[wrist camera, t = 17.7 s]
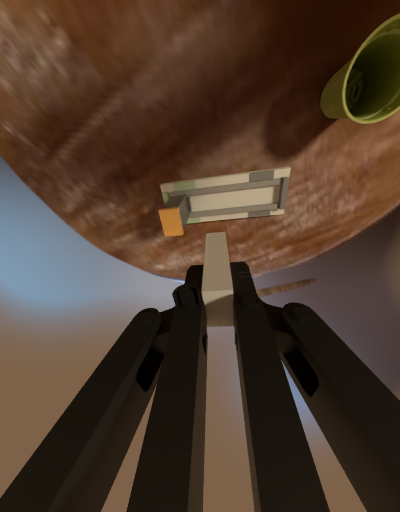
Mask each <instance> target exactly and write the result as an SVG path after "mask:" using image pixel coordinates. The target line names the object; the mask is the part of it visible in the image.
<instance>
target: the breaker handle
mask: <svg viewBox="0 0 400 512" xmlns="http://www.w3.org/2000/svg"><path fill="white" fill-rule="evenodd" d="M191 211H192V207H191V201H190V197H187V196H186V195H179V196H172V197H171V198H170V199H169V200H168V201H167V202H166V204H165V205H164V206H163V207H162V208H161V209H159V215H160V219H161V223H162V226H163V230H164V234H165V237H166V236H177V235H183V233H184V229H185V226H186V224H187V221H188V218H189V216H190V215H189V212H191Z"/></svg>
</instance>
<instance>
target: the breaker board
mask: <svg viewBox="0 0 400 512" xmlns="http://www.w3.org/2000/svg"><path fill="white" fill-rule="evenodd" d="M289 175H290V167H282V168H274V169H266V170H259V171H251V172H244V173H236V174H229V175H221V176H214V177H206V178H199V179H191V180H184V181H176V182H169V183H162V184H160V188H161V192H162V196H163V200H164V205H165V204H166V202H167V201H168V200H169V199H170V198H171V197H172V196H179V195H186V196H187V197H190V201H191V207H192V211H191V212H189V215H190V216H189V218H188V221H187V224H188V223H199V222H206V221H216V220H226V219H236V218H246V217H260V216H270V215H277V214H284V210H285V206H286V199H287V192H288V185H289Z"/></svg>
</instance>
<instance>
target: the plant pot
mask: <svg viewBox="0 0 400 512" xmlns="http://www.w3.org/2000/svg"><path fill="white" fill-rule="evenodd" d="M349 73H350V74H349ZM357 86H358V92H357V95H356V96H355V97H354V94H355V91H356V87H357ZM320 108H321V110H322V112H323V114H324V115H325V116H326V117H328V118H332V119H333V118H335V119H336V118H345V119H350V120H351V121H353V122H355V123H359V124H370V123H375V122H378V121H381V120H383V119H385V118H387V117H389V116H391V115H392V114H393V113H395V112H396V111H398V110H399V109H400V13H399V14H397V15H395V16H393V17H391V18H390V19H388V20H387V21H385V22H384V23H383V24H381V25H380V26H379V27H378V28H377V29H375V30H374V31H373V32H372V33H371V34H370V35H369V36H368V37H367V39H366V40H365V41H364V42H363V43H362V45H361V46H360V47H359V49H358V50H357V52H356V53H355V55H354V56H353V58H352V59H350V60H349V61H348V62H347V63H346V64H345V65H344V66H343V67H342V68H341V69H340V70H339V71H337V72H336V73H335V74H334V75H333V76H332V77H331V79H330V80H329V81H328V82H327V84H326V85H325V87H324V89H323V92H322V95H321V99H320Z"/></svg>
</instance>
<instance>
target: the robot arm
mask: <svg viewBox="0 0 400 512" xmlns="http://www.w3.org/2000/svg"><path fill="white" fill-rule="evenodd" d="M172 295H173V298H174V302H175V305H176V306H175V307H173V308H171V309H169V310H166V311H163V312H159V311H158V310H157V309H155V308H147V309H144V310H142V311H141V312H139V313H138V314H137V315H136V316H135V317H134V318H133V319H132V321H131V322H130V324H129V325H128V326H127V328H126V329H125V330H124V332H123V333H122V334H121V336H120V337H119V338H118V340H117V341H116V342H115V344H114V345H113V346H112V348H111V349H110V351H109V352H108V353H107V355H106V356H105V357H104V359H103V360H102V361H101V363H100V364H99V365H98V367H97V368H96V369H95V371H94V372H93V374H92V375H91V376H90V378H89V379H88V381H87V382H86V383H85V385H84V386H83V387H82V388H81V390H80V391H79V393H78V394H77V395H76V397H75V398H74V399H73V401H72V402H71V403H70V405H69V406H68V407H67V409H66V410H65V412H64V413H63V414H62V416H61V417H60V418H59V420H58V421H57V422H56V424H55V425H54V426H53V428H52V429H51V430H50V432H49V433H48V435H47V436H46V437H45V439H44V440H43V441H42V443H41V444H40V446H39V447H38V448H37V449H36V451H35V452H34V453H33V455H32V456H31V458H30V459H29V460H28V462H27V463H26V464H25V466H24V467H23V469H22V470H21V471H20V472H19V474H18V475H17V476H16V478H15V479H14V480H13V482H12V483H11V485H10V486H9V487H8V489H7V490H6V491H5V493H4V494H3V495H2V497H1V498H0V512H101V510H102V508H103V506H104V503H105V501H106V499H107V496H108V494H109V492H110V489H111V487H112V485H113V482H114V480H115V478H116V476H117V474H118V471H119V469H120V467H121V464H122V462H123V460H124V458H125V455H126V453H127V451H128V449H129V446H130V444H131V442H132V439H133V437H134V435H135V432H136V430H137V428H138V426H139V424H140V421H141V419H142V417H143V414H144V412H145V410H146V408H147V405H148V403H149V401H150V398H151V396H152V394H153V392H154V389H155V387H156V385H157V387H156V390H155V395H154V399H153V403H152V407H151V411H150V416H149V420H148V424H147V428H146V432H145V436H144V441H143V445H142V449H141V453H140V457H139V462H138V466H137V470H136V474H135V478H134V482H133V487H132V491H131V495H130V499H129V504H128V508H127V511H126V512H203V483H204V481H203V480H204V446H205V412H206V411H205V410H206V376H207V375H206V374H207V340H208V336H207V326H209V327H211V326H234V328H235V344H236V350H237V359H238V368H239V377H240V386H241V394H242V404H243V412H244V421H245V430H246V438H247V448H248V456H249V465H250V474H251V483H252V492H253V501H254V510H255V512H330V510H329V507H328V504H327V501H326V498H325V495H324V492H323V489H322V485H321V482H320V479H319V476H318V473H317V470H316V467H315V464H314V461H313V457H312V454H311V452H310V448H309V445H308V442H307V439H306V436H305V433H304V429H303V426H302V423H301V420H300V417H299V414H298V411H297V408H296V405H295V401H294V399H293V396H292V392H291V389H290V386H289V383H288V380H287V377H286V374H285V370H284V367H283V364H282V361H283V363H284V365H285V367H286V368H287V370H288V372H289V374H290V376H291V377H292V379H293V381H294V383H295V385H296V386H297V388H298V390H299V392H300V393H301V395H302V397H303V399H304V401H305V402H306V404H307V406H308V408H309V409H310V411H311V413H312V414H313V416H314V418H315V420H316V422H317V423H318V425H319V427H320V429H321V431H322V432H323V434H324V436H325V438H326V440H327V441H328V443H329V445H330V446H331V448H332V450H333V452H334V454H335V455H336V457H337V459H338V461H339V463H340V464H341V466H342V468H343V470H344V471H345V473H346V475H347V477H348V479H349V480H350V482H351V484H352V486H353V487H354V489H355V491H356V493H357V495H358V496H359V498H360V500H361V501H362V503H363V505H364V507H365V509H366V510H367V512H400V400H399V399H398V398H397V397H396V396H395V395H394V394H393V393H392V392H391V391H390V390H389V389H388V388H387V387H386V386H385V385H384V384H383V383H382V382H381V381H380V380H379V379H378V377H377V376H376V375H375V374H374V373H373V372H372V371H371V370H370V369H369V368H368V367H367V366H366V365H365V364H364V363H363V362H362V361H361V360H360V359H359V358H358V357H357V356H356V355H355V353H354V352H353V351H352V350H351V349H350V348H349V347H348V346H347V345H346V344H345V343H344V342H343V341H342V340H341V339H340V338H339V337H338V336H337V335H336V333H335V332H334V331H333V330H332V329H331V328H330V327H329V326H328V325H327V324H326V323H325V322H324V321H323V320H322V319H321V318H320V317H319V316H318V315H317V314H316V313H315V312H314V311H313V310H312V309H311V308H310V307H308V306H306V305H304V304H301V303H288V304H286V305H285V306H284V307H283V308H281V307H276V306H272V305H269V304H266V303H264V302H263V301H262V300H261V299H260V298H259V297H258V295H257V293H256V289H255V286H254V283H253V279H252V277H251V273H250V270H249V266H248V265H247V264H246V263H245V262H231V263H229V257H228V250H227V243H226V236H225V232H219V233H208V234H206V245H205V257H204V265H193V266H191V267H190V268H189V269H188V270H187V275H186V279H185V284H184V285H181V286H179V287H177V288H176V289H175V290H174V292H173V293H172ZM281 360H282V361H281Z"/></svg>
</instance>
